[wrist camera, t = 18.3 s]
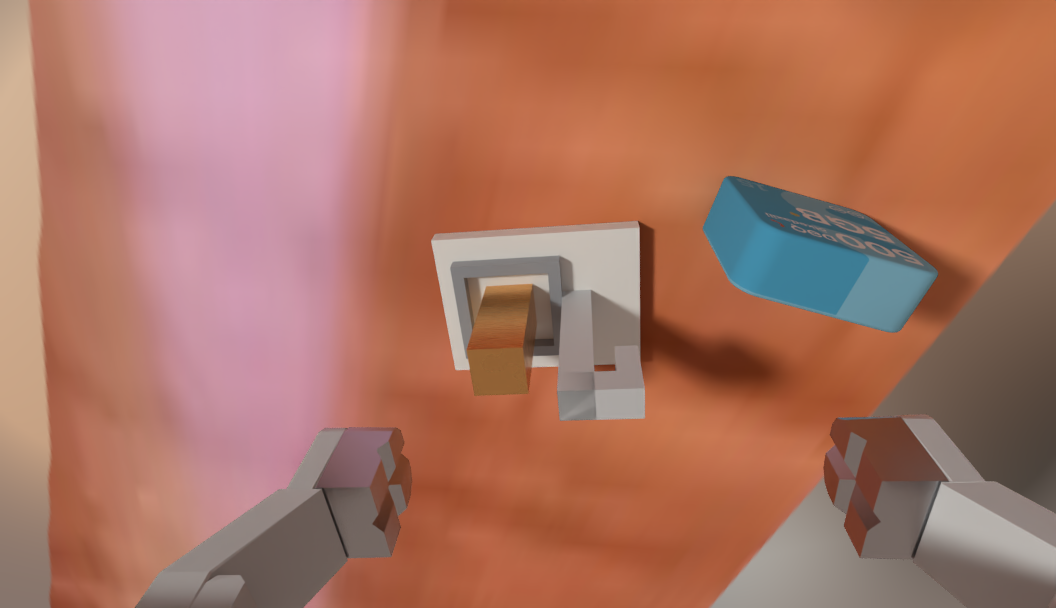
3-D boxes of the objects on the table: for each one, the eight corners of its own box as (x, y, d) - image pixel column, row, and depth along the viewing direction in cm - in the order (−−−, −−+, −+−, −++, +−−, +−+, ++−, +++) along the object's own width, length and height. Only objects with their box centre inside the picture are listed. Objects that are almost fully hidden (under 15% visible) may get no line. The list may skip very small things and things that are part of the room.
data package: (864, 212, 45) (951, 278, 35) (835, 262, 48) (909, 339, 37) (720, 171, 45) (764, 227, 34) (698, 224, 47) (732, 291, 36)
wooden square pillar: (492, 326, 51) (474, 395, 42) (486, 286, 49) (466, 350, 41) (536, 324, 51) (528, 393, 42) (532, 283, 49) (522, 347, 40)
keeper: (458, 361, 55) (419, 481, 42) (435, 233, 49) (380, 326, 35) (638, 354, 53) (659, 478, 40) (637, 220, 47) (662, 313, 34)
